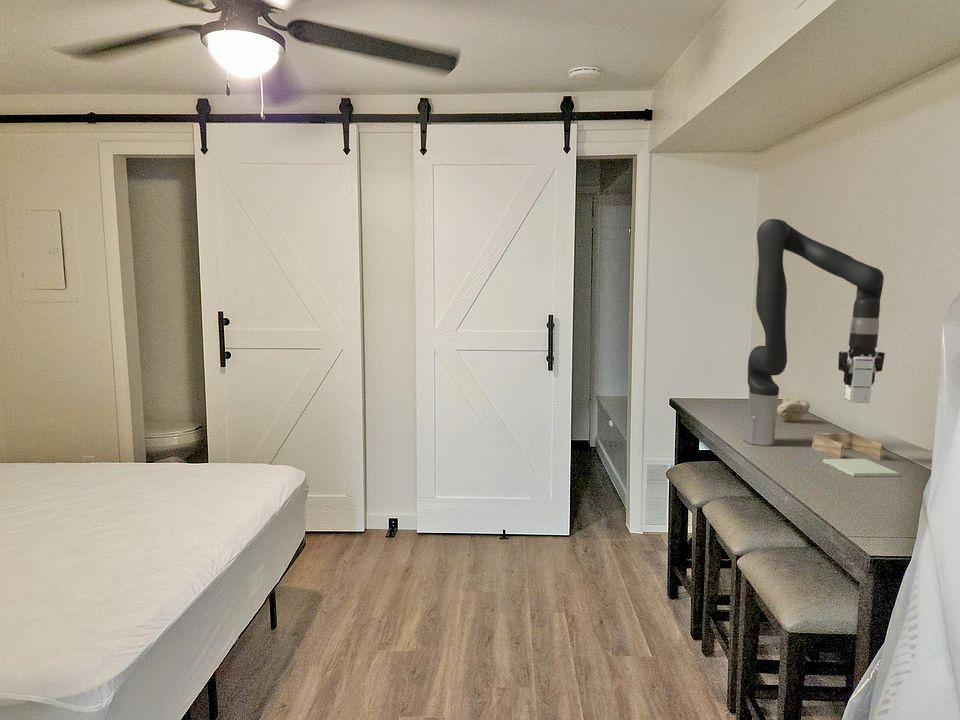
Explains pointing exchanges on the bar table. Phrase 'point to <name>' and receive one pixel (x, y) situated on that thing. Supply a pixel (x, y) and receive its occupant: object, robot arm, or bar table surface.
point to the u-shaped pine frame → (846, 444)
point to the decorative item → (793, 409)
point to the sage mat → (860, 467)
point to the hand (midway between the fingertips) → (858, 384)
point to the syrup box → (860, 380)
